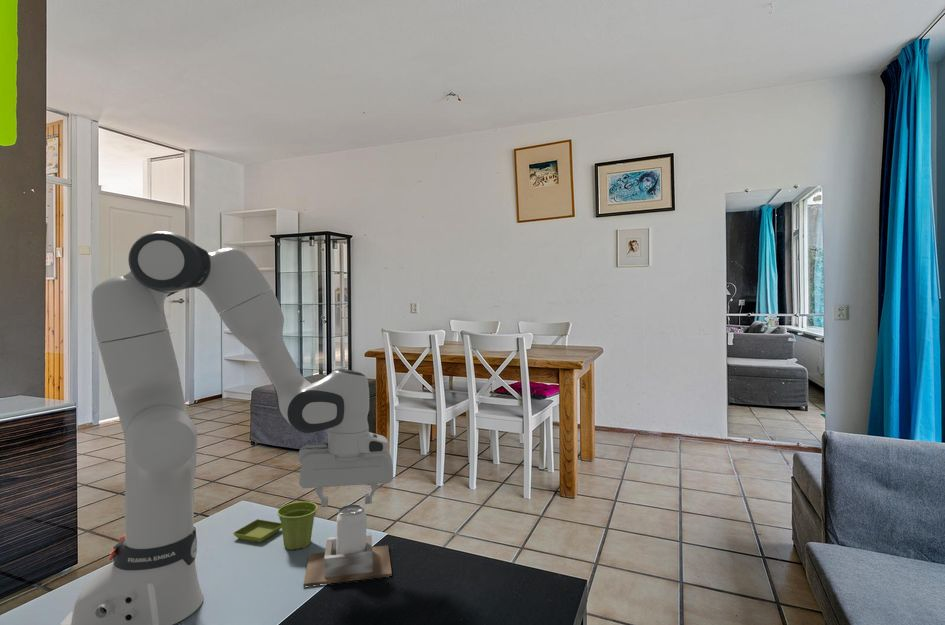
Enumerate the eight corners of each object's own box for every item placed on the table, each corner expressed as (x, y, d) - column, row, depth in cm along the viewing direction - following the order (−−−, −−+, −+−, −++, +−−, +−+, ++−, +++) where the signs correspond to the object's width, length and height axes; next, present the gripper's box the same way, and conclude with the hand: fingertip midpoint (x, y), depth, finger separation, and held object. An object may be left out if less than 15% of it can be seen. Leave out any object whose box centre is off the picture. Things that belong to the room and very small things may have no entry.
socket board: (303, 591, 101) (303, 564, 101) (309, 560, 113) (309, 536, 113) (391, 580, 105) (391, 554, 105) (388, 551, 117) (388, 528, 117)
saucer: (284, 531, 127) (284, 523, 127) (260, 546, 119) (260, 538, 119) (257, 526, 130) (257, 518, 130) (232, 541, 122) (232, 533, 122)
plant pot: (324, 537, 123) (324, 502, 123) (305, 555, 114) (305, 518, 114) (290, 534, 125) (290, 500, 125) (269, 552, 115) (269, 515, 115)
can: (358, 572, 105) (359, 516, 105) (331, 569, 106) (331, 514, 106) (370, 557, 111) (371, 505, 111) (344, 554, 113) (344, 502, 113)
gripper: (297, 447, 103) (295, 513, 103) (395, 443, 108) (393, 506, 108) (300, 440, 109) (298, 502, 109) (392, 437, 115) (390, 496, 114)
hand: (346, 504), depth 109 cm, fingers open, 8 cm apart
